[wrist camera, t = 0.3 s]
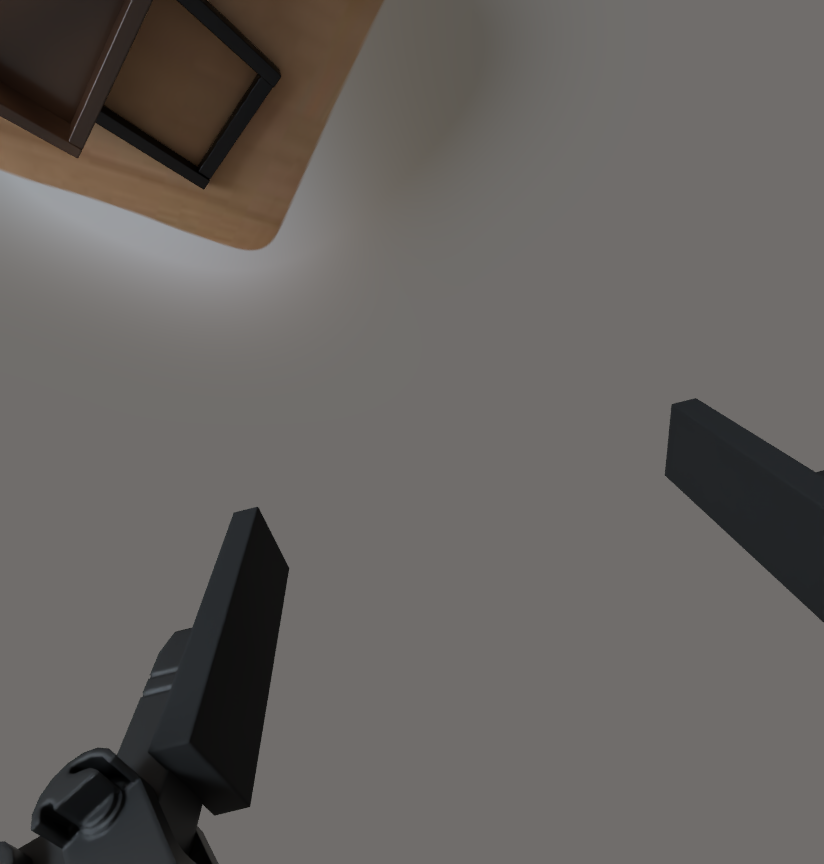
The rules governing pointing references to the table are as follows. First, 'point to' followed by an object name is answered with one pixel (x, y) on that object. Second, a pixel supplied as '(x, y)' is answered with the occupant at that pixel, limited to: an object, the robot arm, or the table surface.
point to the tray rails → (236, 123)
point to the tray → (63, 63)
